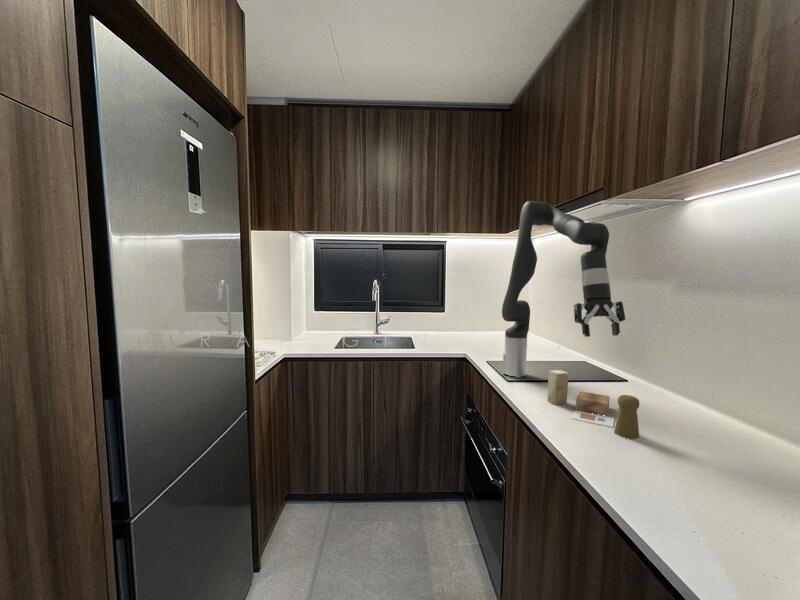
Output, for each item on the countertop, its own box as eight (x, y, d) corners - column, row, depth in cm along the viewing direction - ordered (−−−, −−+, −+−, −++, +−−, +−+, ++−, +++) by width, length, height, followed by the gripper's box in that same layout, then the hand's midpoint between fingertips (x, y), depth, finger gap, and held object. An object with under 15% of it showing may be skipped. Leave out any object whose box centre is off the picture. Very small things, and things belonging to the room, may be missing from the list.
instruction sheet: (571, 418, 112) (571, 418, 112) (575, 410, 118) (575, 409, 118) (612, 427, 106) (612, 426, 105) (614, 418, 112) (614, 417, 112)
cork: (616, 427, 105) (618, 391, 104) (640, 433, 102) (642, 395, 101) (612, 434, 101) (614, 396, 100) (638, 441, 97) (640, 401, 96)
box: (554, 405, 123) (556, 373, 122) (546, 400, 127) (547, 370, 126) (567, 403, 125) (569, 372, 124) (559, 399, 129) (560, 369, 128)
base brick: (575, 410, 119) (576, 398, 118) (579, 402, 126) (579, 391, 126) (607, 416, 114) (607, 404, 113) (608, 407, 121) (609, 396, 121)
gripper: (612, 285, 116) (618, 335, 114) (567, 287, 117) (572, 337, 115) (625, 281, 109) (632, 334, 107) (578, 283, 109) (583, 336, 107)
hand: (601, 336), depth 111 cm, fingers open, 8 cm apart
